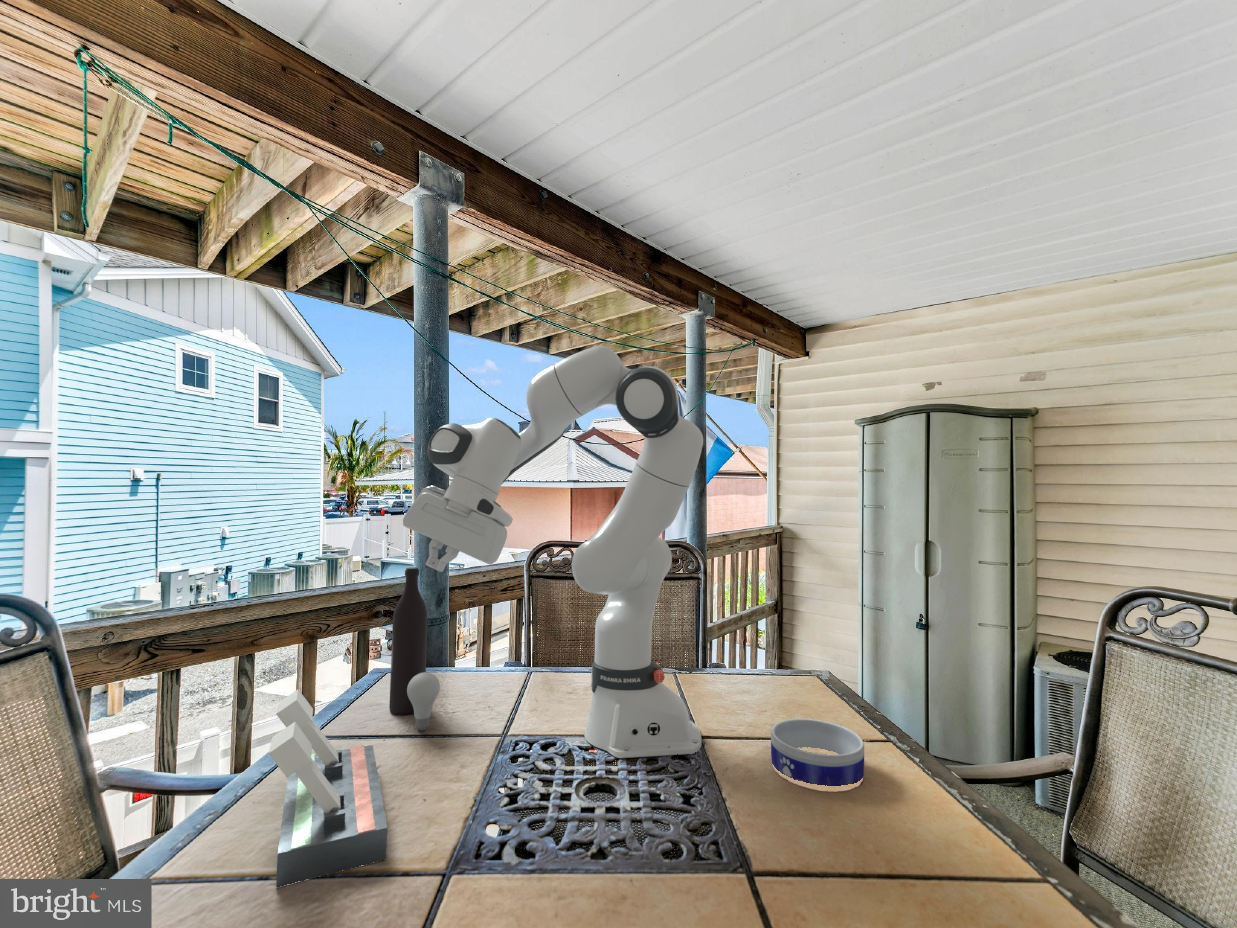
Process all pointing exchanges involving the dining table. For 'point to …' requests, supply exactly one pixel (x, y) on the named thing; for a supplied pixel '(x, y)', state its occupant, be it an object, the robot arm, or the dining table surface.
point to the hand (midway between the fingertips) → (433, 568)
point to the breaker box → (333, 821)
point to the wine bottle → (407, 643)
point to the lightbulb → (423, 697)
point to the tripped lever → (306, 725)
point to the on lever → (303, 766)
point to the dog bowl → (816, 765)
